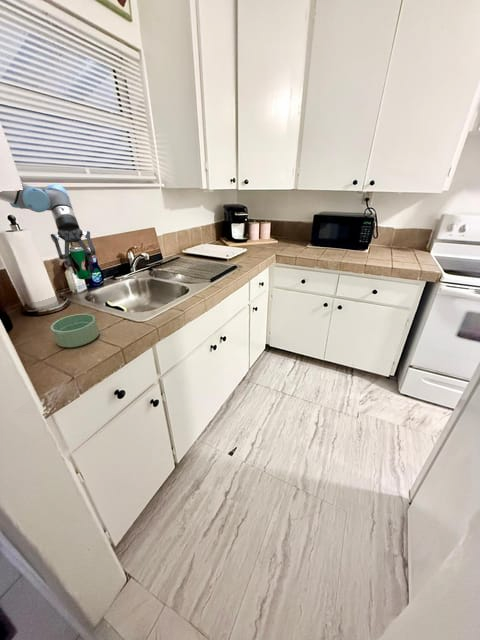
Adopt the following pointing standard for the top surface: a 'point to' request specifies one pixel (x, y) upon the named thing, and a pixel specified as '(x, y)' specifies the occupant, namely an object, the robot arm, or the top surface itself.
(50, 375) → the top surface
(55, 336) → the bowl
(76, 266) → the soda can
